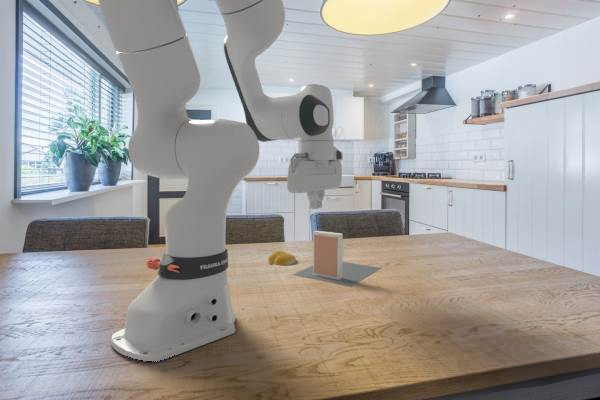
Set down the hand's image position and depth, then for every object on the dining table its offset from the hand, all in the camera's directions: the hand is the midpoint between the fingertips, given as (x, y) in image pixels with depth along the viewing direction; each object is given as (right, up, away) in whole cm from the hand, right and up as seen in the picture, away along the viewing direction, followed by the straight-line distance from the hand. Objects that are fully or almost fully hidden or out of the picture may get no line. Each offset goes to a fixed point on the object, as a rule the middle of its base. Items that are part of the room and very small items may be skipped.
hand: (316, 208), depth 92 cm
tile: (+3, -19, +6) cm, 20 cm away
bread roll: (-10, -18, +23) cm, 31 cm away
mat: (+7, -19, +11) cm, 23 cm away
